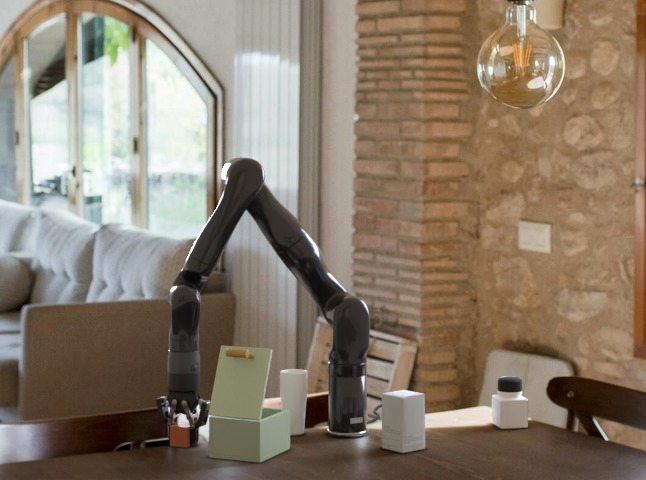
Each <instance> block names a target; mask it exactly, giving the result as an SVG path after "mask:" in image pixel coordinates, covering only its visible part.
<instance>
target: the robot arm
mask: <svg viewBox="0 0 646 480" xmlns="http://www.w3.org/2000/svg"><path fill="white" fill-rule="evenodd" d="M221 171H222V172H221V179H222V180H221V181H222V184H223V186H224V188H223V189H224V190H223V192H222V195H221V197H220V199H219V202H218V205H217V207H216V209H215V210H214V212H213V214H212V215H211V217H209V219H208V221H207V223H206V224H205V225H204V226H203V228H202V230H201V231H200V233H199V234H198V236H197V238H196V240H195V241H194V243H193V246H192V247H191V249H190V251H189V254H188V256H187V258H186V260H185V262H184V264H183V267H182V268H181V270H180V271H179V273H178V274H177V275H176V278H175V279H174V280H173V282H172V285H171V286H170V289H169V290H168V293H167V302H168V305H169V307H170V327H169V330H168V352H167V353H168V354H167V366H166V368H167V370H166V371H167V380H166V381H167V385H166V386H167V391H168V392H167V394H166V396H160V397H157V398H156V400H155V402H156V406H157V407H156V408H157V411H158V415H159V421H160V423H161V424H163V425H164V424H165V425H166V426H167V427H168V432H167V433H168V434H167V435H168V436H167V437H168V441H170V426H172V425H174V424H177V423H179V422H178V421H179V418H180V416H182V415H185V418H186V420H187V421H188V423H189V425H190V428H191V429H190V445H193V446H196V445H197V444H198V443H199V441H200V428H201V427H204V426H206V425H207V423H208V421H209V417H210V415H208V413H209V408H210V403H211V399H210V400H209V399H208V400H205V399H202V397H201V395H200V390H201V356H200V331H199V330H200V322H201V321H200V320H201V312H202V309H201V308H202V297H201V293H202V290H203V288H204V286H205V285H206V283H207V281H208V280H209V279H210V278H211V277H212V276H213V275H214V272H215V271H216V269H217V267H218V265H219V262H220V261H221V258H222V256H223V254H224V252H225V250H226V248H227V246H228V244H229V242H230V239H231V238H232V235H233V233H234V232H235V229H236V228H237V226H238V225H239V223H240V220H241V219H242V217H243V215H244V214H245V212H247V213H248V215H250V217H251V218H252V219H253V221H254V222H255V224H256V226H257V227H258V229H259V230H260V232H261V234H262V235H263V237H264V238H265V240H266V241H267V242H268V244H269V246H270V247H271V248H272V250H273V251H274V253H275V254H276V255H277V257H278V258H279V259H280V261H281V262H282V264H283V265H285V267H286V268H287V269H288V270H289V272H290V273H291V274H292V275H293V277H295V279H296V280H297V281H298V283H300V284H301V285H302V286H303V288H304V289H305V290H306V291H307V292H308V293H309V295H310V297H311V298H312V300H313V301H314V303H315V304H316V306H317V307H318V309H319V311H320V312H321V315H322V316H323V318H324V319H325V321H326V323H327V324H328V325H329V326H330V327H331V329H332V342H331V343H332V344H331V348H330V349H329V351H328V361H327V362H328V367H327V369H328V379H327V381H328V388H327V389H328V392H327V393H328V395H327V396H328V399H327V401H328V406H327V407H328V416H327V417H328V418H327V419H328V421H327V423H328V424H327V425H328V428H327V434H328V435H329V436H332V437H336V438H358V437H359V438H360V437H364V436H366V435H367V434H368V427H367V425H369V424H373V423H375V422H377V421H378V420H379V419H380V417H381V415H380V414H379V412H377V411H378V410H379V409H380V408H382V403H380V404H378V405H377V406H376V407H375V408H373V410H372V413H373V415H374V416H375V417H374V418H372V419H371V420H369V421H368V419H367V417H368V416H367V414H368V413H367V412H368V408H367V405H368V403H367V401H368V399H367V398H368V397H367V395H368V394H367V393H368V392H367V390H368V387H367V386H368V382H367V381H368V379H367V378H368V375H367V374H368V373H367V372H368V371H367V370H368V369H367V366H368V365H367V364H368V362H367V359H368V353H369V349H370V339H371V337H370V336H371V335H370V334H371V333H370V331H371V316H370V315H371V314H370V309H369V307H368V305H367V303H366V302H365V301H364V300H363V299H362V298H359V297H357V296H354V295H351V293H350V292H348V291H347V290H346V289H345V288H344V286H342V284H341V282H339V281H338V280H337V278H336V277H335V275H334V274H333V273H332V272H331V270H330V268H329V265H328V262H327V261H326V258H325V256H324V253H323V252H322V250H321V248H320V246H319V245H318V243H317V241H316V240H315V239H314V237H313V236H312V235H311V233H310V232H309V231H308V230H307V228H306V226H305V225H304V224H303V223H302V222H301V221H300V220H299V219H298V218H297V217H296V216H295V215H294V214H293V213H292V212H290V210H289V209H287V208H286V207H285V206H284V205H283V204H282V203H281V202H280V201H279V200H278V199H277V198H276V197H275V195H274V194H273V192H272V191H271V190H270V188H269V186H268V185H267V183H266V182H265V181H266V173H265V169H264V167H263V165H262V164H261V163H260V162H259V161H258V160H256V159H253V158H251V157H244V156H242V157H241V156H240V157H235V158H232V159H230V160H229V161H227V162H226V163H225V164H224V166H223V168H222V170H221ZM168 405H169V406H170V410H169V406H168ZM198 406H199V407H198ZM198 408H199V409H198ZM198 410H199V411H198Z"/></svg>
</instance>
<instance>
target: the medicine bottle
mask: <svg viewBox="0 0 646 480" xmlns="http://www.w3.org/2000/svg"><path fill="white" fill-rule="evenodd" d="M491 423H492V424H493V425H494V426H496V427H497V428H499V429H501V430H512V429H528V428H529V399H528V398H527V397H524V396H523V380H522V378H520V377H518V376H513V375H505V376H500V377H499V378H498V379H497V394H492V395H491Z"/></svg>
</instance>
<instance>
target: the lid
mask: <svg viewBox="0 0 646 480" xmlns="http://www.w3.org/2000/svg"><path fill="white" fill-rule="evenodd" d="M273 351H274V350H273V349H272V348H264V347H249V346H235V345H220V350H219V355H218V359H217V366H216V371H215V375H214V382H213V387H212V393H211V398H210V401H211V403H210V408H209V413H208V415H209V416H223V417H234V418H245V419H255V420H261V416H262V410H263V407H264V402H265V397H266V392H267V386H268V380H269V374H270V369H271V361H272V357H273Z"/></svg>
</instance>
